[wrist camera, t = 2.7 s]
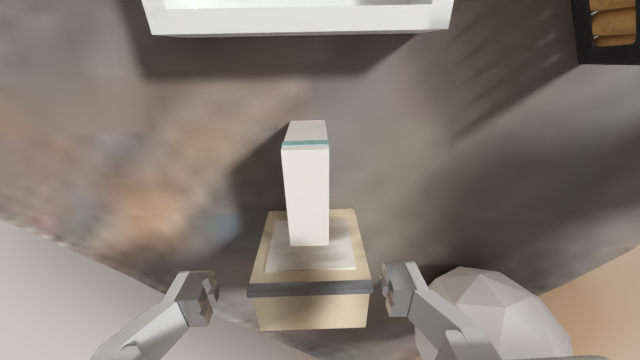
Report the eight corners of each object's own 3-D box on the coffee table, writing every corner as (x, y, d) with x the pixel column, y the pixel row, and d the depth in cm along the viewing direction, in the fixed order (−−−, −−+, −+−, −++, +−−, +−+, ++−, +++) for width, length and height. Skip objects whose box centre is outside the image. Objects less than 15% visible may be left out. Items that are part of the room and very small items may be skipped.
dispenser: (353, 207, 26) (374, 287, 17) (351, 250, 29) (367, 337, 20) (268, 209, 26) (245, 291, 17) (275, 252, 28) (258, 340, 20)
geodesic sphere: (603, 312, 26) (707, 469, 14) (507, 375, 32) (523, 520, 20) (466, 225, 31) (457, 285, 20) (407, 293, 38) (373, 370, 26)
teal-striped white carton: (325, 119, 21) (329, 148, 15) (325, 197, 25) (329, 245, 19) (289, 120, 21) (279, 149, 15) (295, 198, 25) (289, 246, 19)
